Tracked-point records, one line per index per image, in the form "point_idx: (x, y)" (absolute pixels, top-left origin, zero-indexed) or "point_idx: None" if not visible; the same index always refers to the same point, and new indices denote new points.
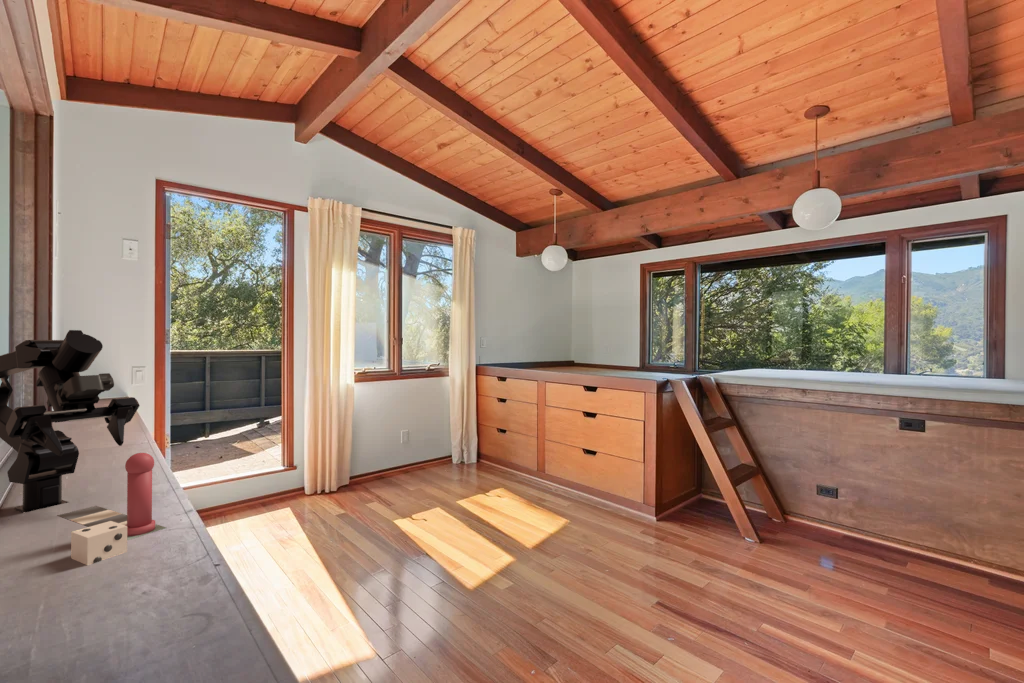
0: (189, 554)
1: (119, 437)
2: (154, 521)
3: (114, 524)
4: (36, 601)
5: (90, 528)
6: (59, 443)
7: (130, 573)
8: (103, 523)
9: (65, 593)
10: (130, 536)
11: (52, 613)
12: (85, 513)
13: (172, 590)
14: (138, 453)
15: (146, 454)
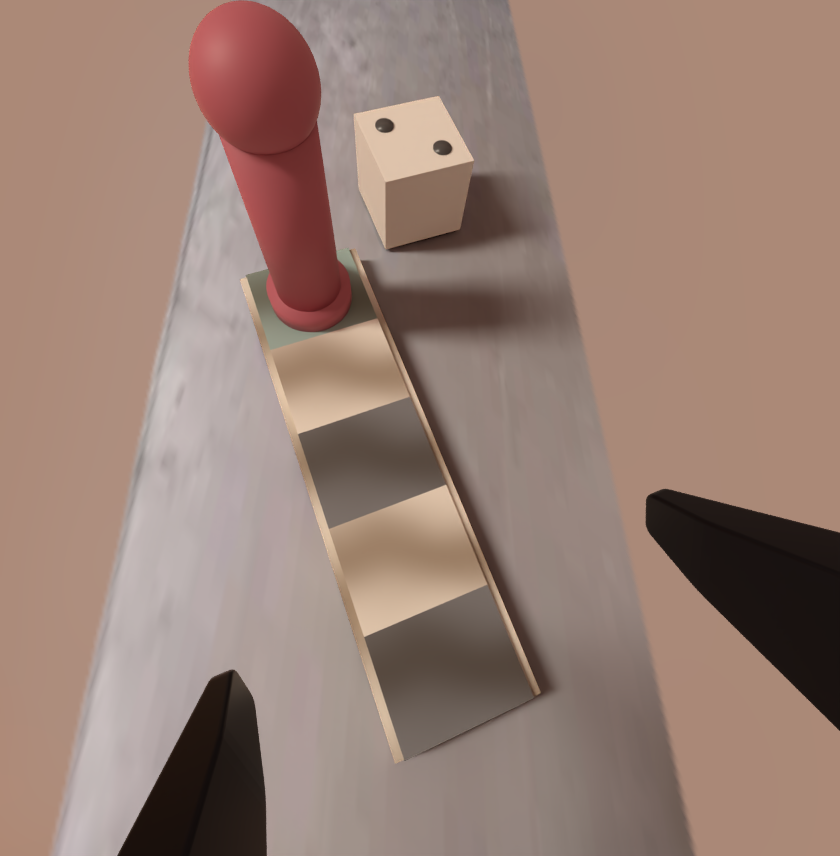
0: None
1: (223, 722)
2: (269, 278)
3: (379, 147)
4: (499, 117)
5: (433, 154)
6: (728, 523)
7: None
8: (403, 173)
9: (461, 117)
10: None
11: (473, 65)
12: (441, 642)
13: (314, 24)
14: (248, 11)
15: (215, 9)
